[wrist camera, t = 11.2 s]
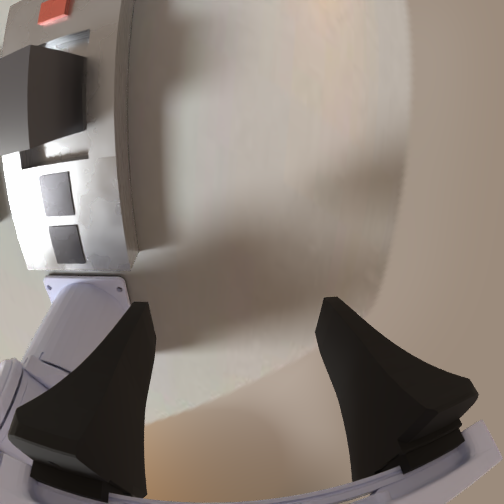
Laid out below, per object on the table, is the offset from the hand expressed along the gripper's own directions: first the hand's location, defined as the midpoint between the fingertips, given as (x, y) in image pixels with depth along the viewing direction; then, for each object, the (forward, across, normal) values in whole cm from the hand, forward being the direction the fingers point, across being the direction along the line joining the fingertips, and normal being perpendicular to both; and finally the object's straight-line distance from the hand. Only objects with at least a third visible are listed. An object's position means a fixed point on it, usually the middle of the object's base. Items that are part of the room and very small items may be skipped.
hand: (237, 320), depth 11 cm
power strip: (+9, +11, -8) cm, 17 cm away
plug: (+8, +11, -10) cm, 17 cm away
